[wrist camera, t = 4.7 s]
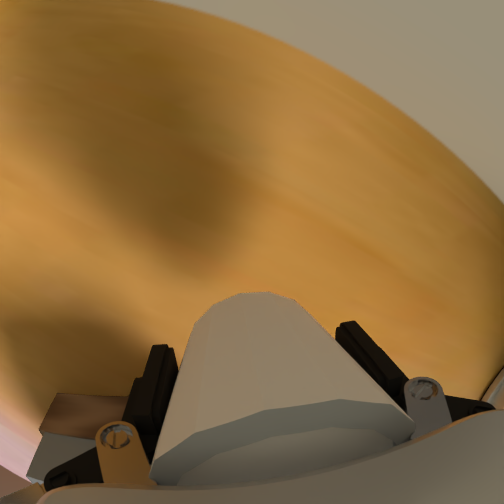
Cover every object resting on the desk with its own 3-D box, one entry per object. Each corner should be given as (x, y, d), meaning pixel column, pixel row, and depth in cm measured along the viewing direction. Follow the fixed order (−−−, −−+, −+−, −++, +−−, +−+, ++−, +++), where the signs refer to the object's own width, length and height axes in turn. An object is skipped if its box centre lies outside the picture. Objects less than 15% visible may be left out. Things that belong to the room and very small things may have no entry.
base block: (201, 390, 18) (202, 439, 14) (221, 473, 21) (225, 513, 17) (59, 389, 17) (38, 429, 13) (107, 472, 20) (100, 507, 16)
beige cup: (148, 298, 11) (86, 435, 4) (324, 256, 11) (440, 351, 5) (199, 422, 13) (201, 548, 6) (338, 389, 13) (399, 500, 6)
